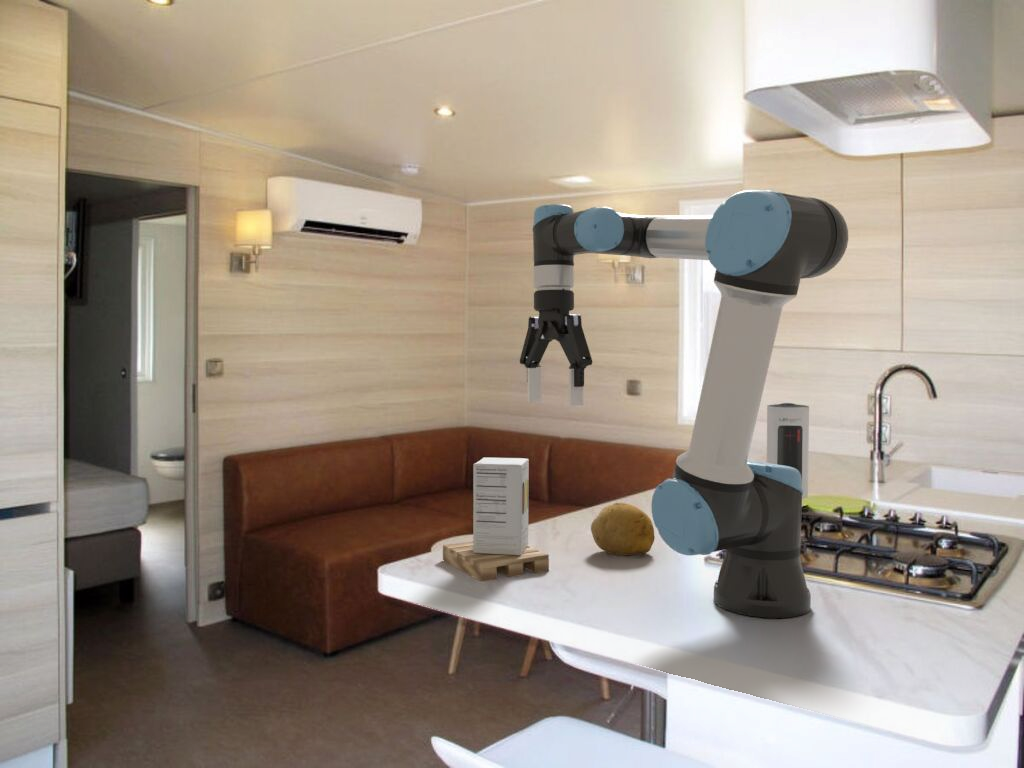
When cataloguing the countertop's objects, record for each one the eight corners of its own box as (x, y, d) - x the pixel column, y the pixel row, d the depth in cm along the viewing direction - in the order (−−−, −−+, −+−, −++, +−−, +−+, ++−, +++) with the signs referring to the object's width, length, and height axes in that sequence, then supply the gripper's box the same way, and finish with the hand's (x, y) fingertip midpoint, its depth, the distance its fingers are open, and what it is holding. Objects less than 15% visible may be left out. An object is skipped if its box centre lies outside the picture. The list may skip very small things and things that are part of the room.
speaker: (762, 506, 218) (764, 404, 217) (767, 499, 228) (769, 401, 226) (806, 509, 214) (809, 405, 212) (809, 502, 224) (811, 402, 222)
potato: (653, 561, 165) (654, 510, 164) (588, 557, 167) (589, 507, 167) (655, 548, 175) (655, 499, 174) (594, 545, 177) (594, 497, 177)
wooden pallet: (548, 570, 158) (548, 554, 158) (481, 581, 151) (481, 564, 151) (506, 551, 172) (506, 536, 171) (442, 560, 165) (442, 545, 164)
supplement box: (521, 556, 156) (522, 464, 155) (472, 554, 158) (472, 463, 157) (529, 543, 166) (529, 457, 165) (482, 541, 167) (482, 456, 166)
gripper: (611, 286, 151) (612, 405, 152) (533, 294, 172) (534, 399, 173) (577, 284, 147) (578, 407, 148) (501, 293, 168) (502, 400, 169)
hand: (554, 403), depth 161 cm, fingers open, 13 cm apart
